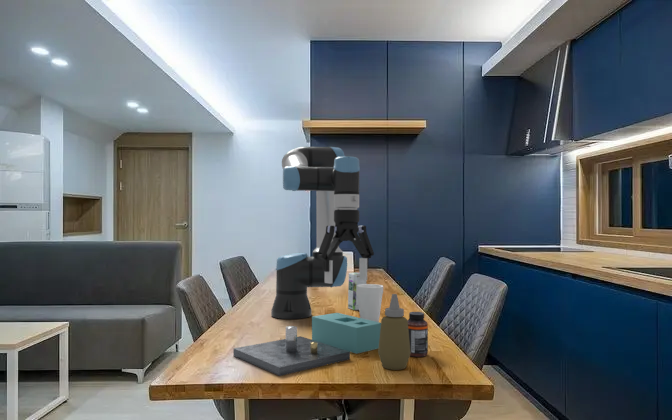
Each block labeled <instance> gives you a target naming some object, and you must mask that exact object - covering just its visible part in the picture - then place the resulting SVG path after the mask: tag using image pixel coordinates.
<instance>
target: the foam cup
mask: <svg viewBox="0 0 672 420" xmlns="http://www.w3.org/2000/svg"><path fill="white" fill-rule="evenodd" d="M356 293H357V297H358V305H359V310H358V312H359V313H358V314H359V318H363V319H367V320H371V321H376V322H380V316H381V308H382V300H383V294H384V285H383V284H376V283H366V284H361V285H357V286H356Z"/></svg>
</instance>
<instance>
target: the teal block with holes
mask: <svg viewBox="0 0 672 420" xmlns="http://www.w3.org/2000/svg"><path fill="white" fill-rule="evenodd" d="M380 328H381V321H379V322H376V321H371V320H367V319H363V318H360V317H357V316H354V315H349V314H344V313H340V312H334V313H327V314H322V315H321V314H319V315H314V316H313V315H312V316H311V340H314V341H317V342H321V343H324V344H327V345H330V346H334V347H337V348H340V349H343V350H346V351H350V353H353V354H361V353H366V352H369V351H374V350H378V348H379V338H380Z"/></svg>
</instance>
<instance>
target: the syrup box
mask: <svg viewBox="0 0 672 420" xmlns="http://www.w3.org/2000/svg"><path fill="white" fill-rule="evenodd" d="M361 284H367V280H360V279H359V272H348V287H347V289H348V291H347V296H348V297H347V308H348V309H350V310H353V311H359V305H358V297H357V293H356V286H357V285H361Z"/></svg>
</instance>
